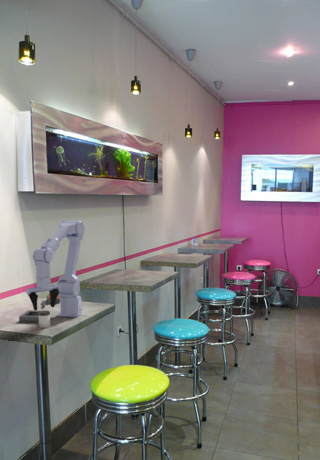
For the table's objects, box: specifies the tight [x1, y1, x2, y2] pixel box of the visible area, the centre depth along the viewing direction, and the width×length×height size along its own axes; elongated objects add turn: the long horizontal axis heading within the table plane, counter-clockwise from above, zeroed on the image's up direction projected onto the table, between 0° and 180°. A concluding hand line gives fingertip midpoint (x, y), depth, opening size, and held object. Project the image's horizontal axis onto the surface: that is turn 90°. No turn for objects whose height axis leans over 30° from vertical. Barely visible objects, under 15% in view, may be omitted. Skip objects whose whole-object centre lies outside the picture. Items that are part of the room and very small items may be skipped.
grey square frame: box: [18, 309, 42, 324], centre depth 190 cm, size 10×10×2 cm
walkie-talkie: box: [41, 293, 60, 308], centre depth 219 cm, size 9×4×20 cm
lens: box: [38, 310, 51, 329], centre depth 180 cm, size 5×5×6 cm
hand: (44, 308), depth 179 cm, fingers open, 7 cm apart
